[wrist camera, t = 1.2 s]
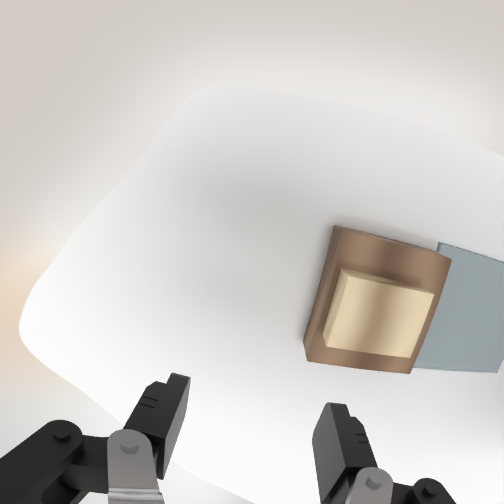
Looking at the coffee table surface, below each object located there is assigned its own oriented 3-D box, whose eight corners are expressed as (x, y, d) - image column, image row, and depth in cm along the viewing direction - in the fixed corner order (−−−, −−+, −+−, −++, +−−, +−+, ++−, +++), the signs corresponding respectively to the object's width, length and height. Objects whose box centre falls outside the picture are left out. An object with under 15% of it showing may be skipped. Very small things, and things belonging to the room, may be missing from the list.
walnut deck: (432, 250, 29) (452, 259, 25) (396, 355, 32) (409, 373, 28) (334, 225, 29) (344, 231, 25) (303, 341, 32) (307, 361, 28)
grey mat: (532, 272, 29) (534, 273, 28) (494, 370, 32) (496, 372, 31) (439, 242, 29) (441, 243, 28) (397, 363, 32) (399, 366, 31)
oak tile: (421, 285, 26) (434, 294, 23) (400, 345, 27) (410, 357, 25) (341, 267, 26) (348, 276, 23) (322, 333, 27) (326, 346, 25)
